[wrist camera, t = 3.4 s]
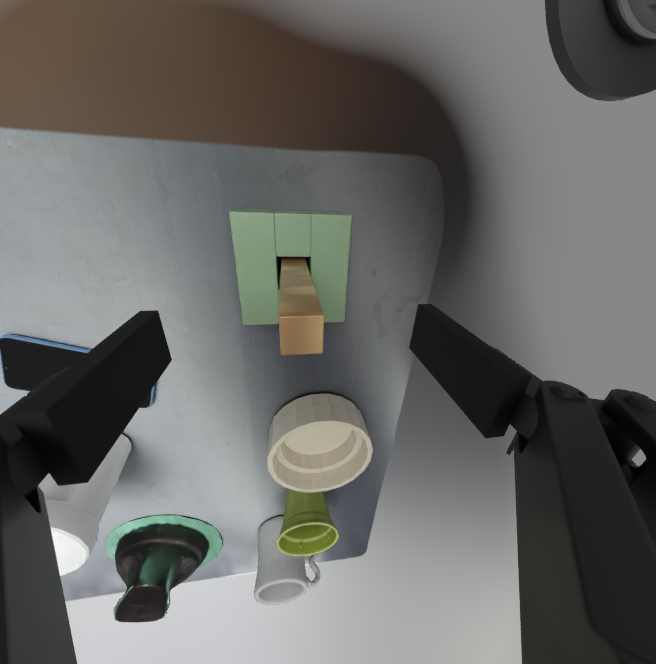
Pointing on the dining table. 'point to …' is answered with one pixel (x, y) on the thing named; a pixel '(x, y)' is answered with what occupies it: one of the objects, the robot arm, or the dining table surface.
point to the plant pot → (306, 525)
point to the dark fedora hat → (158, 561)
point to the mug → (280, 568)
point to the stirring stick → (299, 310)
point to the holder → (289, 241)
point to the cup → (82, 508)
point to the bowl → (318, 443)
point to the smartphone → (39, 362)
